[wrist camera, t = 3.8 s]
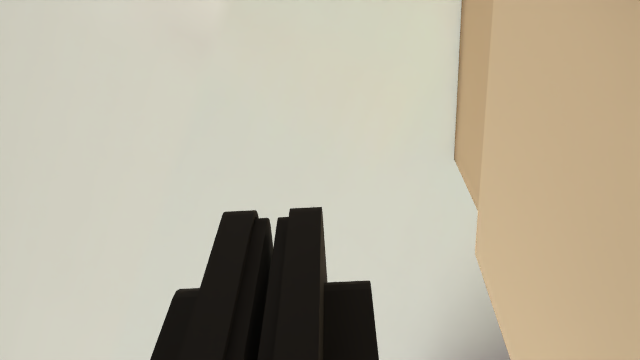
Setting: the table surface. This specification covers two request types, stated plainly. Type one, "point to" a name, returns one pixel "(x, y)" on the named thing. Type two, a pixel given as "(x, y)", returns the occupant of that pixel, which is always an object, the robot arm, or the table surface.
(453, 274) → the table surface
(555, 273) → the box lid
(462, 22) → the cardboard box
